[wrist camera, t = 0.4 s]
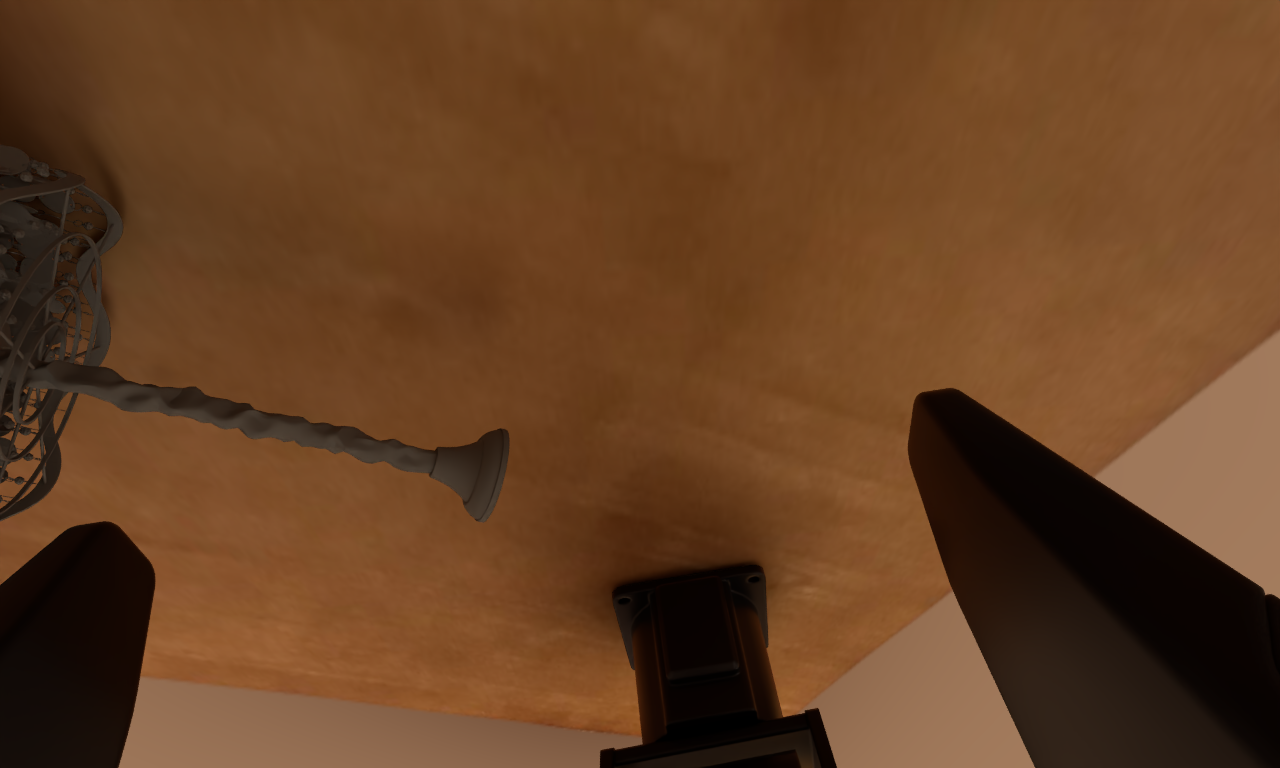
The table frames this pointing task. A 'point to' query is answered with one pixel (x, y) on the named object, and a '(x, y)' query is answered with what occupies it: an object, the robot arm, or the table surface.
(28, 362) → the massage brush
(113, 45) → the table surface
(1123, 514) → the robot arm
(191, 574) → the table surface
